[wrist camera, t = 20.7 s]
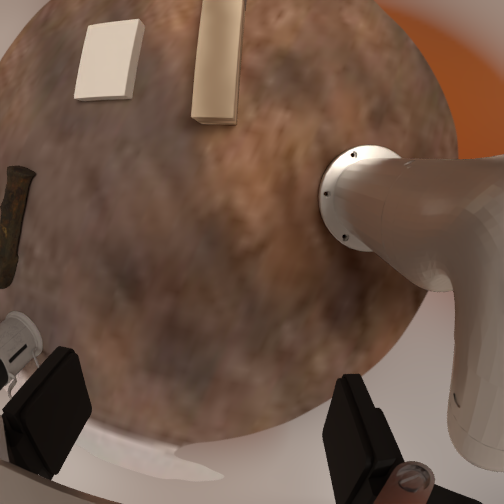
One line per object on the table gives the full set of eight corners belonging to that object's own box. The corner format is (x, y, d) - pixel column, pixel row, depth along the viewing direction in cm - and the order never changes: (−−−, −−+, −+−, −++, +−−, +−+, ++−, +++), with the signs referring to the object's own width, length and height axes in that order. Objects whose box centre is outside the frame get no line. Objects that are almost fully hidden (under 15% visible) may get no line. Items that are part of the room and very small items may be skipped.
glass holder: (3, 303, 41) (-53, 344, 27) (69, 335, 42) (17, 392, 28) (7, 344, 43) (-40, 389, 29) (70, 376, 44) (27, 434, 30)
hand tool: (21, 162, 35) (1, 164, 31) (39, 171, 36) (19, 174, 31) (0, 275, 40) (-17, 285, 36) (16, 286, 40) (-1, 297, 36)
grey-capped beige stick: (247, -8, 29) (245, -33, 24) (237, 125, 34) (233, 117, 28) (213, -8, 29) (207, -33, 23) (200, 124, 34) (190, 117, 28)
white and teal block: (132, 99, 34) (146, 27, 31) (124, 95, 31) (139, 19, 28) (84, 101, 33) (97, 32, 31) (73, 98, 31) (88, 25, 28)
